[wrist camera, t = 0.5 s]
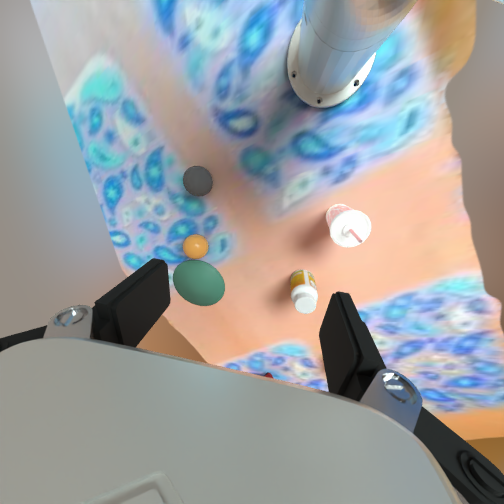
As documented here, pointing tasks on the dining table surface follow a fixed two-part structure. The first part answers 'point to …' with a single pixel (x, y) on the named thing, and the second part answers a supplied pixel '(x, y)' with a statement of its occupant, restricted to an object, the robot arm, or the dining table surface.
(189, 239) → the orange ball
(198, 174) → the charcoal cue ball
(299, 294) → the supplement bottle
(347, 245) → the beverage cup
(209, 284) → the green ellipsoid
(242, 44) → the dining table surface
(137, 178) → the dining table surface
